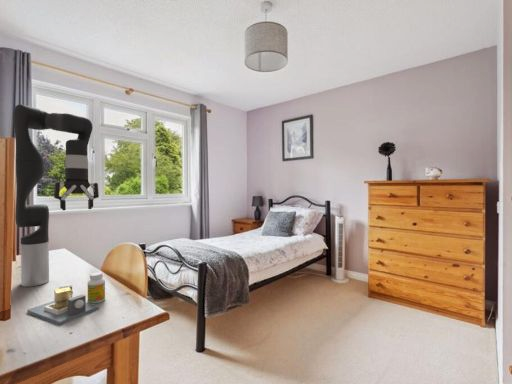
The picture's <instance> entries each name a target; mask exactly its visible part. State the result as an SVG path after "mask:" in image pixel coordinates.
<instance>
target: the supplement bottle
mask: <svg viewBox="0 0 512 384" xmlns="http://www.w3.org/2000/svg"><path fill="white" fill-rule="evenodd" d="M103 276H104V275H103V272H100V271H96V272H92V273H90V274H89V280H88V281H87V303H90V304H98V303H101V302H104V300H105V299H106V281H105V278H104V277H103Z"/></svg>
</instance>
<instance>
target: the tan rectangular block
mask: <svg viewBox="0 0 512 384" xmlns="http://www.w3.org/2000/svg"><path fill="white" fill-rule="evenodd" d="M53 290H54V299H53V301H55V309H58V310H60V309H62V308H65V307H68V305H67V300H68V299H69V298H71V297H73V295H72V296H71V289H70V288H69V287H66V288H61V289H59V288H57V289H53Z"/></svg>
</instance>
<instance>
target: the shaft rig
mask: <svg viewBox="0 0 512 384" xmlns="http://www.w3.org/2000/svg"><path fill="white" fill-rule="evenodd" d="M66 287H69V288H70V289H71V296H72V297H71V298H69V299H68V300H67V305H68V307H65V308H62V309H60V310H58V309H55V300H52V301H49V302H46V303H43V304H41V305H36V306H35V307H32V308H29V309H27V310H26V311H27V312H26V313H27V314H29V315H32V316H34V317H37V318H39V319H41V320H44V321H48V322H50V323H53V324H55V325H58V326H61V325H64V324H66V323H68V322H71V321H74V320H76V319H78V318H81V317H84V316H85V315H88V314H90V313H92V312H95V311H98V310H99V305H97V304H94V303H89V302H87V301H86V295H85V294H79V295H75V296H73V295H74V293H73V285H66V286H59V288H58V289H61V288H66Z"/></svg>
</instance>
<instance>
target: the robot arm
mask: <svg viewBox="0 0 512 384" xmlns="http://www.w3.org/2000/svg"><path fill="white" fill-rule="evenodd" d="M12 114H13V115H12V117H13V118H12V120H13V121H12V122H13V128H14V137H15V138H14V139H15V177H16V179H15V180H16V181H15V183H16V196H15V197H16V200H15V223H16V226H17V227H18V228H33V227H38V229H36V230H35V231H33V232H31V233H29V234H26V235H23V236H22V237H21V238H20V280H21V281H20V286H21V287H26V288H27V287H28V288H29V287H30V288H31V287H36V286H40V285H44V284H47V283H48V282H49V281H50V262H49V261H50V248H49V247H50V245H49V244H50V243H49V239H50V238H49V225H50V224H49V223H50V221H49V220H50V209H49V206H48V205H47V204H26V203H27V200H28V198H29V195H30V194H31V193H32V191H33V190H34V188H35V187H36V186H37V185H38V183H39V182H40V181H41V180H42V178H43V176H44V173H45V163H44V161H45V160H44V158H43V155H42V153H41V152H40V150H39V149H38V147H37V146H36V145H35V143H34V142H33V141H32V138H31V136H30V132H29V129H30V130H34V131H45V130H53V131H56V132H61V133H62V132H64V133H68V134H74V135H75V134H76V135H77V138H76V139H68V140H67V141H66V142H65V159H64V177H65V179H64V182H59V181H58V182H55V183H54V191H53V192H54V193H53V198H54V199H56V200H59V208H60V209H61V210H62V211H66V210H67V209H66V201H67V200H66V199H67V197H69V196H70V195H71V194H72V195H76V194H77V195H78V194H80V195H83V194H84V196H86V197H87V198H88V199H87V209H88V210H92V208H94V199H97V198H99V197H100V196H99V195H100V194H99V184H98V183H97V182H93V183H90V182H89V159H88V158H89V157H88V145H89V142H90V139H91V135H92V132H93V123H92V121H91V119H90V118H88V117H86V116H81V115H77V114H73V113H68V112H66V113H59V112H51V113H49V112H47V111H46V110H45V111H44V110H43V109H40V108H37V107H33V106H29V105H26V104H21V103H20V104H17V105H15V106H14V109H13V113H12ZM63 187H64V188H65V189H66V190H65V191H64V192H63V194H62V195H61V196H60V189H62V188H63ZM89 188H91V189H92V190H93V194H91V192H90V191H89V190H88V189H89Z"/></svg>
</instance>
